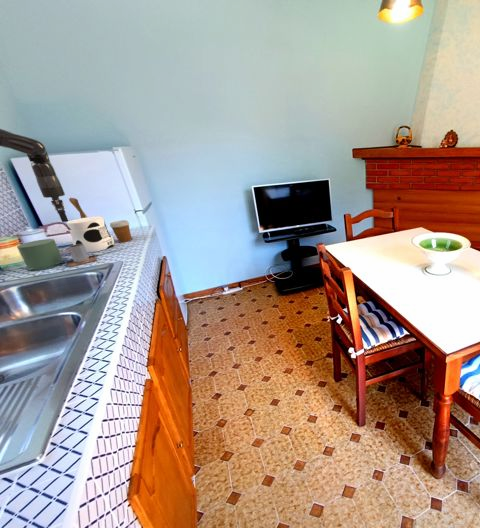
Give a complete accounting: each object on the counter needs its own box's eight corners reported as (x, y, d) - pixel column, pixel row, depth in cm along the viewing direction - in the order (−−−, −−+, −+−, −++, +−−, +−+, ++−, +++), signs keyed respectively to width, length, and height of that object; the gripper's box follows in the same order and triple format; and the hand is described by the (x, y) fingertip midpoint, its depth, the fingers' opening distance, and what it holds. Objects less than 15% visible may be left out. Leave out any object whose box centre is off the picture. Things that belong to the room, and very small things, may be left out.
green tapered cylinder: (27, 273, 140) (14, 249, 135) (27, 266, 149) (16, 244, 144) (66, 264, 149) (56, 241, 144) (64, 258, 158) (54, 237, 153)
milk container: (77, 251, 168) (63, 220, 162) (114, 244, 179) (103, 214, 172) (77, 259, 156) (63, 225, 149) (117, 250, 166) (106, 218, 160)
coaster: (68, 267, 145) (68, 266, 144) (67, 262, 152) (66, 261, 152) (97, 260, 152) (96, 259, 151) (94, 256, 159) (93, 255, 159)
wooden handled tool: (89, 247, 175) (69, 199, 165) (86, 241, 188) (67, 196, 178) (103, 244, 180) (85, 197, 169) (99, 238, 193) (82, 195, 182)
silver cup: (74, 263, 148) (68, 248, 145) (73, 261, 152) (67, 246, 149) (90, 260, 152) (84, 245, 149) (88, 257, 156) (82, 243, 153)
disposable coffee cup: (114, 244, 178) (106, 225, 174) (118, 240, 186) (111, 221, 182) (132, 242, 181) (125, 222, 177) (136, 237, 190) (130, 219, 185)
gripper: (39, 186, 140) (53, 220, 146) (39, 188, 131) (55, 224, 137) (60, 184, 145) (73, 217, 151) (62, 185, 135) (76, 220, 141)
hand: (64, 220), depth 144 cm, fingers open, 8 cm apart
